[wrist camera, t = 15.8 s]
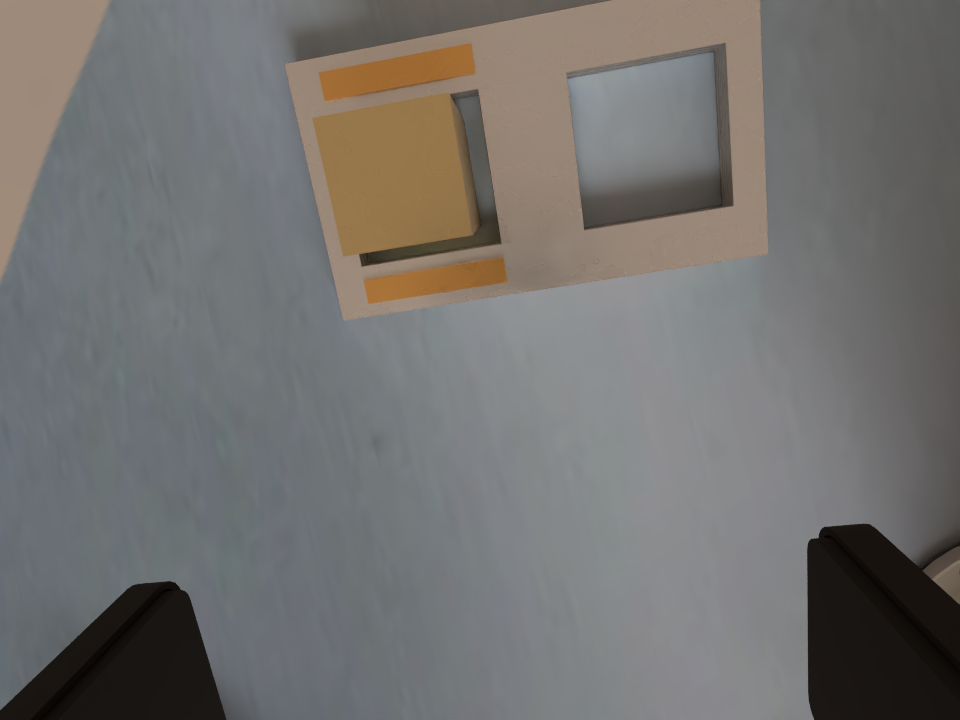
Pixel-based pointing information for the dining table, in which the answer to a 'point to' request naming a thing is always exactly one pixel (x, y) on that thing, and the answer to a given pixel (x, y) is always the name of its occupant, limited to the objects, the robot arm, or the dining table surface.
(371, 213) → the brass block
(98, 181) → the dining table surface
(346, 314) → the white flat frame
